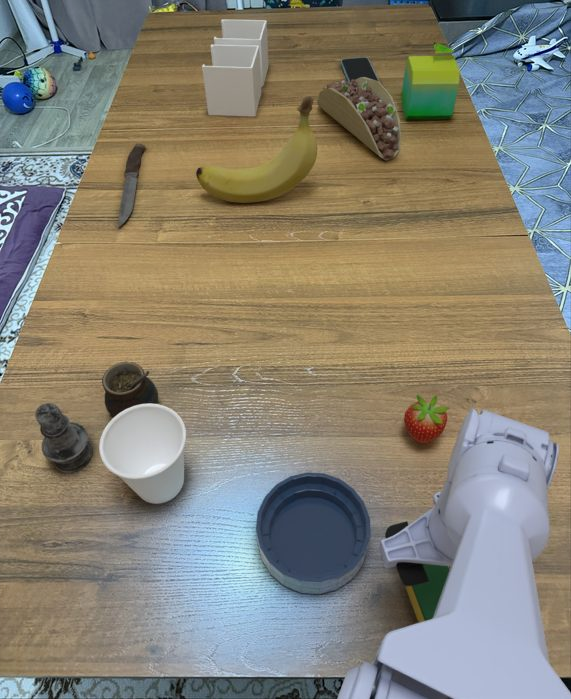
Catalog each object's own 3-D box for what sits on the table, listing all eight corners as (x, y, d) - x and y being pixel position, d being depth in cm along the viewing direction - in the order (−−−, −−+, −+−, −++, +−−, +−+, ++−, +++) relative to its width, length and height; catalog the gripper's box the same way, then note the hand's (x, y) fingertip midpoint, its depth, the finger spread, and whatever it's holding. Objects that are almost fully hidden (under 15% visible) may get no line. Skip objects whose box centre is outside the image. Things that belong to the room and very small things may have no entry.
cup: (194, 519, 71) (180, 478, 63) (114, 519, 71) (89, 478, 63) (202, 448, 77) (190, 402, 69) (129, 448, 78) (108, 402, 69)
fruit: (413, 459, 76) (423, 427, 70) (393, 428, 79) (401, 395, 73) (448, 444, 77) (461, 411, 71) (427, 415, 80) (438, 380, 74)
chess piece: (75, 428, 80) (45, 377, 71) (104, 450, 78) (78, 399, 68) (41, 459, 77) (5, 409, 68) (70, 483, 75) (38, 435, 65)
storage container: (255, 116, 132) (252, 68, 124) (208, 114, 133) (202, 66, 125) (268, 66, 148) (266, 20, 139) (226, 65, 149) (221, 19, 140)
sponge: (458, 617, 63) (466, 608, 61) (420, 628, 63) (426, 619, 60) (433, 556, 68) (439, 545, 65) (397, 565, 67) (401, 554, 64)
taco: (372, 168, 118) (377, 121, 110) (305, 110, 133) (306, 66, 126) (410, 154, 121) (418, 108, 113) (341, 99, 136) (343, 55, 128)
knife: (133, 229, 107) (131, 223, 106) (114, 230, 107) (112, 224, 106) (146, 147, 125) (145, 141, 124) (130, 147, 125) (129, 142, 124)
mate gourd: (116, 389, 84) (98, 345, 76) (168, 390, 84) (154, 346, 76) (105, 432, 79) (84, 390, 72) (159, 433, 79) (144, 390, 71)
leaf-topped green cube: (450, 123, 129) (465, 54, 117) (406, 123, 129) (417, 54, 117) (442, 99, 136) (456, 31, 124) (400, 99, 136) (410, 32, 124)
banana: (199, 209, 111) (183, 110, 95) (200, 191, 114) (185, 93, 99) (317, 204, 111) (320, 104, 95) (314, 186, 115) (317, 87, 99)
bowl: (382, 579, 66) (386, 565, 63) (272, 608, 64) (270, 596, 61) (347, 478, 74) (349, 462, 71) (248, 502, 72) (246, 486, 69)
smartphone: (352, 88, 138) (339, 59, 147) (351, 93, 139) (339, 63, 148) (381, 86, 138) (367, 56, 147) (381, 90, 139) (367, 61, 148)
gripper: (526, 450, 52) (488, 512, 62) (374, 487, 50) (361, 545, 60) (569, 523, 48) (520, 577, 58) (404, 567, 46) (384, 615, 56)
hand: (441, 565), depth 59 cm, fingers open, 7 cm apart
